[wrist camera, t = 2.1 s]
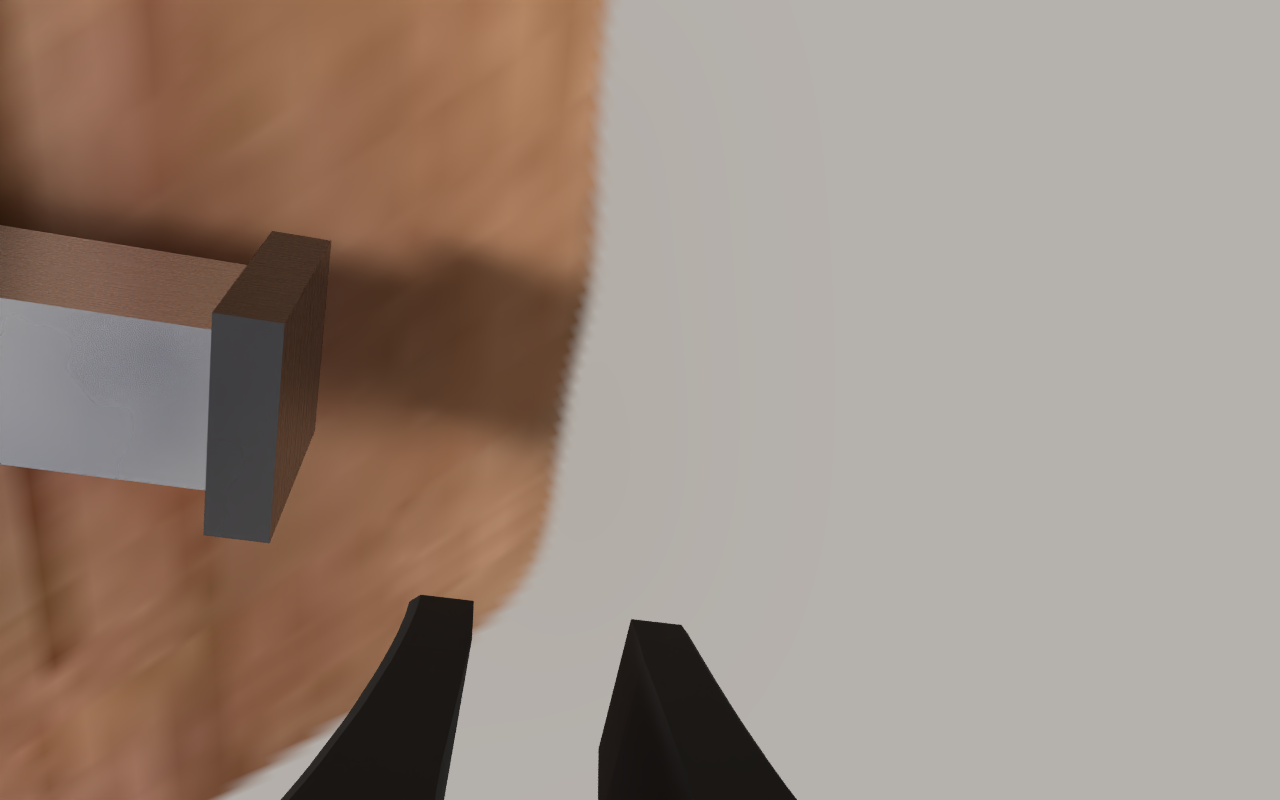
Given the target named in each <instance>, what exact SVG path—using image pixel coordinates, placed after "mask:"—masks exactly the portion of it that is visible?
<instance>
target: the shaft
mask: <svg viewBox="0 0 1280 800" xmlns="http://www.w3.org/2000/svg"><path fill="white" fill-rule="evenodd" d="M330 249H331V241H328V240H322V239H317V238H311V237H305V236H299V235H293V234H287V233H281V232H275V231H272V232H271V233H270V235H269V236H268V237H267V239H266V240H265V242H264V243H263V244H262V246H261V247H260V248H259V250H258V251H257V252H256V254H255V255H254V256H253V258H252V259H251V260H250V262H249V263H248V265H244V264H238V263H232V262H225V261H219V260H213V259H207V258H201V257H195V256H188V255H182V254H176V253H170V252H164V251H157V250H151V249H145V248H139V247H133V246H126V245H120V244H114V243H108V242H102V241H95V240H89V239H83V238H77V237H71V236H65V235H58V234H52V233H46V232H40V231H34V230H27V229H21V228H15V227H9V226H3V225H0V464H2V465H10V466H17V467H25V468H33V469H41V470H49V471H57V472H64V473H72V474H80V475H88V476H96V477H104V478H112V479H119V480H127V481H135V482H143V483H151V484H159V485H166V486H174V487H182V488H190V489H198V490H205V513H204V535H206V536H215V537H223V538H231V539H239V540H248V541H256V542H264V543H270V541H271V538H272V536H273V533H274V531H275V528H276V526H277V523H278V521H279V518H280V516H281V513H282V511H283V508H284V506H285V503H286V501H287V498H288V496H289V493H290V491H291V488H292V486H293V483H294V481H295V478H296V476H297V474H298V471H299V469H300V466H301V464H302V461H303V459H304V456H305V454H306V451H307V449H308V446H309V444H310V441H311V439H312V436H313V434H314V431H315V423H316V411H317V400H318V388H319V377H320V365H321V353H322V342H323V330H324V319H325V307H326V295H327V284H328V272H329V261H330Z"/></svg>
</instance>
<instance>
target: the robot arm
mask: <svg viewBox="0 0 1280 800" xmlns="http://www.w3.org/2000/svg"><path fill="white" fill-rule="evenodd" d="M473 604H474V601H469V600H461V599H452V598H444V597H435V596H426V595H420V596H418V597H416V598H415V599H413V600H412V601H410V602H409V605H408V608H407V611H406V614H405V617H404V619H403V622H402V624H401V626H400V629H399V631H398V633H397V635H396V637H395V639H394V641H393V643H392V645H391V647H390V648H389V650H388V652H387V654H386V655H385V657H384V659H383V661H382V662H381V664H380V666H379V668H378V669H377V671H376V673H375V674H374V676H373V677H372V679H371V680H370V682H369V683H368V685H367V686H366V688H365V689H364V691H363V693H362V694H361V696H360V697H359V699H358V700H357V702H356V703H355V705H354V706H353V708H352V709H351V711H350V712H349V714H348V715H347V717H346V718H345V719H344V721H343V722H342V724H341V725H340V726H339V728H338V729H337V730H336V731H335V733H334V734H333V735H332V737H331V738H330V739H329V741H328V742H327V743H326V745H325V746H324V747H323V749H322V750H321V751H320V752H319V754H318V755H317V756H316V758H315V759H314V760H313V762H312V763H311V764H310V766H309V767H308V768H307V769H306V771H305V772H304V773H303V774H302V775H301V777H300V778H299V779H298V780H297V781H296V783H295V784H294V785H293V786H292V787H291V789H290V790H289V791H288V792H287V793H286V794H285V796H284V797H283V798H282V799H281V800H444V796H445V790H446V785H447V779H448V773H449V768H450V762H451V755H452V750H453V744H454V738H455V733H456V727H457V721H458V716H459V710H460V704H461V698H462V692H463V687H464V681H465V675H466V669H467V664H468V658H469V652H470V647H471V641H472V626H473ZM598 766H599V769H598V800H797V799H796V798H795V797H794V795H793V794H792V793H791V791H790V790H789V789H788V788H787V787H786V785H785V783H784V782H783V781H782V779H781V778H780V777H779V775H778V774H777V772H776V771H775V770H774V768H773V767H772V765H771V764H770V763H769V762H768V760H767V758H766V757H765V755H764V754H763V753H762V751H761V749H760V748H759V747H758V745H757V744H756V742H755V741H754V739H753V738H752V736H751V735H750V733H749V732H748V730H747V729H746V728H745V726H744V725H743V723H742V722H741V720H740V718H739V717H738V715H737V714H736V712H735V711H734V709H733V708H732V706H731V704H730V703H729V701H728V700H727V698H726V697H725V695H724V693H723V692H722V690H721V689H720V687H719V685H718V684H717V682H716V681H715V679H714V677H713V675H712V674H711V672H710V671H709V669H708V667H707V665H706V664H705V662H704V660H703V659H702V657H701V655H700V654H699V652H698V650H697V649H696V647H695V645H694V644H693V642H692V640H691V639H690V637H689V635H688V634H687V632H686V631H685V630H684V628H683V627H682V625H676V624H667V623H659V622H651V621H641V620H633V619H632V620H631V622H630V626H629V630H628V634H627V638H626V642H625V646H624V650H623V654H622V658H621V662H620V666H619V670H618V674H617V678H616V682H615V686H614V690H613V694H612V698H611V702H610V706H609V710H608V714H607V718H606V722H605V726H604V730H603V734H602V738H601V742H600V746H599V764H598Z"/></svg>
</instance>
